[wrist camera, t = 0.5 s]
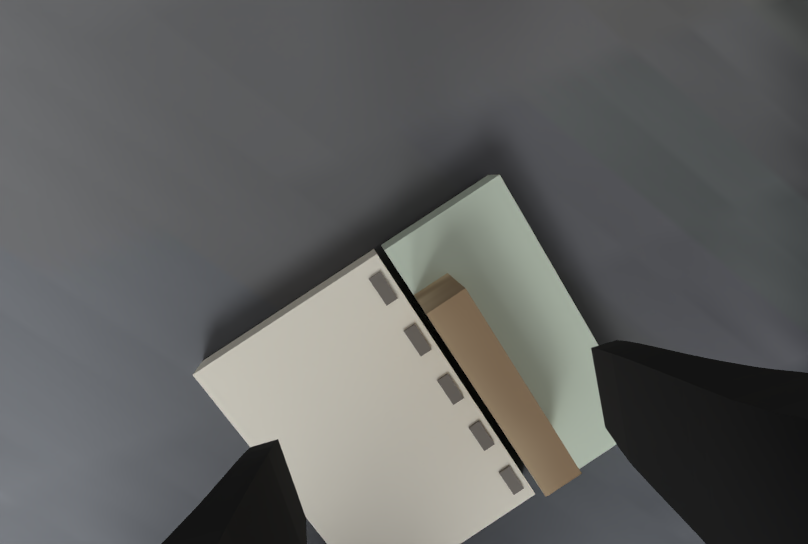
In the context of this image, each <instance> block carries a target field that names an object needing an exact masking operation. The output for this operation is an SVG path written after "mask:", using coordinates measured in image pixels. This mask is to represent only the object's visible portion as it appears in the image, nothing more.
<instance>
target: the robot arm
mask: <svg viewBox="0 0 808 544" xmlns="http://www.w3.org/2000/svg"><path fill="white" fill-rule="evenodd" d="M591 351H592V357H593V362H594V368H595V373H596V379H597V385H598V390H599V396H600V401H601V407H602V413H603V418H604V424H605V428H606V429H607V431H608V432H609V434H610V435H611V437H612V438H613V439H614V441H615V442H616V444H617V445H618V447H619V448H620V449H621V451H622V452H623V454H624V455H625V456H626V458H627V459H628V460H629V462H630V463H631V464H632V465H633V466H634V467H635V468H636V470H637V471H638V472H639V473H640V474H641V475H642V476H643V477H644V478H645V479H646V480H647V481H648V483H649V484H650V485H651V486H652V487H653V488H654V489H655V490H656V491H657V492H658V493H659V494H660V495H661V496H662V497H663V498H664V500H665V501H666V502H667V503H668V504H669V505H670V506H671V507H672V508H673V509H674V510H675V511H676V512H677V513H678V514H679V515H680V516H681V517H682V519H683V520H684V521H685V522H686V523H687V524H688V525H689V526H690V527H691V528H692V529H693V530H694V531H695V532H696V533H697V534H698V535H699V537H700V538H701V539H702V540H703V541H704V542H705V543H706V544H808V373H803V372H794V371H784V370H774V369H767V368H759V367H752V366H747V365H741V364H735V363H729V362H723V361H718V360H713V359H708V358H703V357H698V356H693V355H689V354H684V353H680V352H675V351H671V350H666V349H662V348H658V347H653V346H648V345H644V344H639V343H634V342H628V341H619V340H616V341H613V342H609V343H606V344H602V345H599V346H595V347H592V348H591ZM162 544H307V539H306V517H305V514H304V511H303V508H302V505H301V502H300V500H299V497H298V494H297V491H296V488H295V485H294V483H293V480H292V477H291V474H290V471H289V468H288V466H287V463H286V460H285V457H284V454H283V451H282V449H281V446H280V443H279V440H278V439H277V440H273V441H270V442H267V443H263V444H260V445H256V446H253V447H250V448H249V449H248V450H247V451H246V452H245V453H244V454H243V455H242V456H241V457H240V458H239V460H238V461H237V462H236V463H235V464H234V465H233V466H232V468H231V469H230V470H229V471H228V472H227V473H226V474H225V476H224V477H223V478H222V479H221V480H220V481H219V482H218V484H217V485H216V486H215V487H214V488H213V489H212V490H211V492H210V493H209V494H208V495H207V496H206V497H205V498H204V500H203V501H202V502H201V503H200V504H199V505H198V506H197V507H196V508H195V509H194V510H193V511H192V513H191V514H190V515H189V516H188V517H187V518H186V519H185V520H184V521H183V522H182V523H181V524H180V525H179V526H178V527H177V528H176V529H175V530H174V531H173V532H172V533H171V535H170V536H169V537H168V538H167V539H166V540H165V541H164V542H163V543H162Z"/></svg>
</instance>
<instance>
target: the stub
mask: <svg viewBox="0 0 808 544" xmlns="http://www.w3.org/2000/svg"><path fill="white" fill-rule="evenodd" d="M381 246H382V248H383V249H384V251H385V252H386V254H387V255H388V257H389V258H390V260H391V262H392V263H393V265H394V266H395V268H396V269H397V271H398V272H399V274H400V275H401V277H402V278H403V280H404V281H405V283H406V284H407V286H408V287H409V289H410V291H411V292H412V294H413V295H414V297H415V298H416V300H417V301H418V303H419V304H420V306H421V307H422V309H423V310H424V312H425V313H426V315H427V316H428V318H429V320H430V321H431V323H432V324H433V326H434V327H435V329H436V330H437V332H438V333H439V335H440V336H441V338H442V339H443V341H444V342H445V344H446V345H447V347H448V349H449V350H450V352H451V353H452V355H453V356H454V358H455V359H456V361H457V362H458V364H459V365H460V367H461V368H462V370H463V371H464V373H465V374H466V376H467V378H468V379H469V381H470V382H471V384H472V385H473V387H474V388H475V390H476V391H477V393H478V394H479V396H480V397H481V399H482V400H483V402H484V403H485V405H486V407H487V408H488V410H489V411H490V413H491V414H492V416H493V417H494V419H495V420H496V422H497V423H498V425H499V426H500V428H501V429H502V431H503V432H504V434H505V435H506V437H507V439H508V440H509V442H510V443H511V445H512V446H513V448H514V449H515V451H516V452H517V454H518V455H519V457H520V458H521V460H522V461H523V463H524V464H525V466H526V468H527V469H528V471H529V472H530V474H531V475H532V477H533V478H534V480H535V481H536V483H537V484H538V486H539V487H540V489H541V490H542V492H543V493H544V495H545V496H546V497H547V496H548V495H550V494H551V493H553V492H554V491H556V490H557V489H559V488H560V487H562V486H563V485H565V484H566V483H568V482H569V481H571V480H573V479H574V478H576V477H577V476H579V475H580V474H582V473H581V471H580V470H579V469H580V468H582V467H583V466H585V465H586V464H588V463H589V462H591V461H592V460H594V459H595V458H597V457H598V456H600V455H601V454H603V453H604V452H606V451H607V450H609V449H610V448H612V447H613V446H615V445H616V442H615V441H614V439H613V438H612V437H611V435H610V434H609V432H608V431H607V429H606V428H605V424H604V418H603V413H602V407H601V401H600V396H599V390H598V385H597V379H596V373H595V368H594V362H593V357H592V351H591V348H592V347H595V346H599V345H598V344H597V342H596V340H595V338H594V337H593V335H592V333H591V332H590V330H589V328H588V326H587V325H586V323H585V321H584V319H583V318H582V316H581V314H580V313H579V311H578V309H577V307H576V306H575V304H574V302H573V300H572V299H571V297H570V295H569V294H568V292H567V290H566V288H565V287H564V285H563V283H562V281H561V280H560V278H559V276H558V275H557V273H556V271H555V269H554V268H553V266H552V264H551V262H550V261H549V259H548V257H547V255H546V254H545V252H544V250H543V249H542V247H541V245H540V243H539V242H538V240H537V238H536V236H535V235H534V233H533V231H532V230H531V228H530V226H529V224H528V223H527V221H526V219H525V217H524V216H523V214H522V212H521V211H520V209H519V207H518V205H517V204H516V202H515V200H514V198H513V197H512V195H511V193H510V192H509V190H508V188H507V186H506V185H505V183H504V181H503V179H502V178H501V176H500V175H487V176H486V177H484V178H483V179H481V180H479V181H478V182H476V183H475V184H473V185H472V186H470V187H469V188H467V189H466V190H464V191H463V192H461V193H460V194H458V195H457V196H455V197H454V198H452V199H450V200H449V201H447V202H446V203H444V204H443V205H441V206H440V207H438V208H437V209H435V210H434V211H432V212H431V213H429V214H428V215H426V216H424V217H423V218H421V219H420V220H418V221H417V222H415V223H414V224H412V225H411V226H409V227H408V228H406V229H405V230H403V231H402V232H400V233H399V234H397V235H395V236H394V237H392V238H391V239H389V240H388V241H386V242H385V243H383V244H382V245H381Z"/></svg>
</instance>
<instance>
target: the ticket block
mask: <svg viewBox="0 0 808 544" xmlns="http://www.w3.org/2000/svg"><path fill="white" fill-rule="evenodd" d="M193 376H194V377H195V378H196V380H197V381H198V382H199V383H200V385H201V386H202V387H203V388H204V390H205V391H206V392H207V394H208V395H209V396H210V397H211V399H212V400H213V401H214V402H215V404H216V405H217V406H218V407H219V409H220V410H221V411H222V412H223V414H224V415H225V416H226V417H227V419H228V420H229V421H230V422H231V424H232V425H233V426H234V427H235V429H236V430H237V431H238V433H239V434H240V435H241V436H242V438H243V439H244V440H245V441H246V443H247V444H248V445H249V446H250V447H253V446H256V445H260V444H263V443H267V442H270V441H273V440H277V439H278V440H279V443H280V446H281V449H282V451H283V454H284V457H285V460H286V463H287V466H288V468H289V471H290V474H291V477H292V480H293V483H294V485H295V488H296V491H297V494H298V497H299V500H300V502H301V505H302V508H303V511H304V514H305V517H306V518H307V519H308V521H309V522H310V523H311V524H312V526H313V527H314V528H315V529H316V531H317V532H318V533H319V534H320V536H321V537H322V538H323V539H324V541H325V542H326V543H327V544H461V543H462V542H464V541H465V540H467V539H468V538H470V537H471V536H473V535H474V534H476V533H478V532H479V531H481V530H482V529H484V528H485V527H487V526H488V525H490V524H491V523H493V522H494V521H496V520H497V519H499V518H500V517H502V516H503V515H505V514H506V513H508V512H509V511H511V510H512V509H514V508H515V507H517V506H518V505H520V504H521V503H523V502H524V501H526V500H527V499H529V498H530V497H532V496H533V495H535V493H534V491H533V490H532V488H531V487H530V485H529V483H528V482H527V480H526V479H525V477H524V475H523V474H522V472H521V471H520V469H519V468H518V466H517V465H516V463H515V462H514V460H513V459H512V457H511V456H510V454H509V453H508V451H507V450H506V448H505V447H504V445H503V444H502V442H501V441H500V439H499V438H498V436H497V435H496V433H495V431H494V430H493V428H492V427H491V425H490V424H489V422H488V421H487V419H486V418H485V416H484V415H483V413H482V412H481V410H480V409H479V407H478V406H477V404H476V403H475V401H474V400H473V398H472V397H471V395H470V394H469V392H468V391H467V389H466V388H465V386H464V384H463V383H462V381H461V380H460V378H459V377H458V375H457V374H456V372H455V371H454V369H453V368H452V366H451V365H450V363H449V362H448V360H447V359H446V357H445V356H444V354H443V353H442V351H441V350H440V348H439V347H438V345H437V344H436V342H435V341H434V339H433V337H432V336H431V334H430V333H429V331H428V330H427V328H426V327H425V325H424V324H423V322H422V321H421V319H420V318H419V316H418V315H417V313H416V312H415V310H414V309H413V307H412V306H411V304H410V303H409V301H408V300H407V298H406V297H405V295H404V294H403V292H402V290H401V289H400V287H399V286H398V284H397V283H396V281H395V280H394V278H393V277H392V275H391V274H390V272H389V271H388V269H387V268H386V266H385V265H384V263H383V262H382V260H381V259H380V257H379V256H378V254H377V253H376V251H375V250H374V249H373V250H371V251H370V252H368V253H367V254H365V255H364V256H362V257H360V258H359V259H357V260H356V261H354V262H353V263H351V264H350V265H348V266H347V267H345V268H344V269H342V270H341V271H339V272H338V273H336V274H335V275H333V276H331V277H330V278H328V279H327V280H325V281H324V282H322V283H321V284H319V285H318V286H316V287H315V288H313V289H312V290H310V291H309V292H307V293H305V294H304V295H302V296H301V297H299V298H298V299H296V300H295V301H293V302H292V303H290V304H289V305H287V306H286V307H284V308H283V309H281V310H280V311H278V312H276V313H275V314H273V315H272V316H270V317H269V318H267V319H266V320H264V321H263V322H261V323H260V324H258V325H257V326H255V327H254V328H252V329H251V330H249V331H247V332H246V333H244V334H243V335H241V336H240V337H238V338H237V339H235V340H234V341H232V342H231V343H229V344H228V345H226V346H225V347H223V348H222V349H220V350H218V351H217V352H215V353H214V354H212V355H211V356H209V357H208V358H206V359H205V360H203V361H202V362H201V364H200V365H199V367H198V368H197V369H196V371H195V372H194V374H193Z"/></svg>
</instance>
